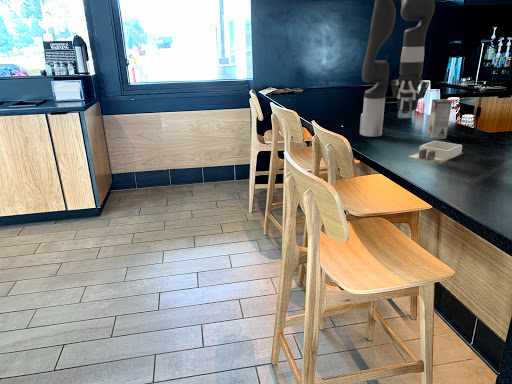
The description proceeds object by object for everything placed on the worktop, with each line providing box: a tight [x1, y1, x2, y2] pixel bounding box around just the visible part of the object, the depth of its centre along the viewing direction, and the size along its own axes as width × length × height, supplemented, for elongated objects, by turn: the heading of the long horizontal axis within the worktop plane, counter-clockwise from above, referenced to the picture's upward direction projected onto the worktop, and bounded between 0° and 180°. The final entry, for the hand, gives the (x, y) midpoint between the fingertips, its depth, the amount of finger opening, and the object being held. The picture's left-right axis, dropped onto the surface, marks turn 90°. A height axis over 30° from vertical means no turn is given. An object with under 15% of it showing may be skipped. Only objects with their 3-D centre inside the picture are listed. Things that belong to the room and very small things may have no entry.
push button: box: [396, 89, 417, 119], centre depth 140 cm, size 7×5×10 cm
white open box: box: [418, 140, 463, 159], centre depth 145 cm, size 11×12×3 cm
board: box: [408, 149, 464, 164], centre depth 143 cm, size 12×18×4 cm, turn 130°
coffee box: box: [427, 98, 453, 140], centre depth 172 cm, size 9×6×16 cm
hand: (406, 109), depth 141 cm, fingers closed on push button, 4 cm apart
